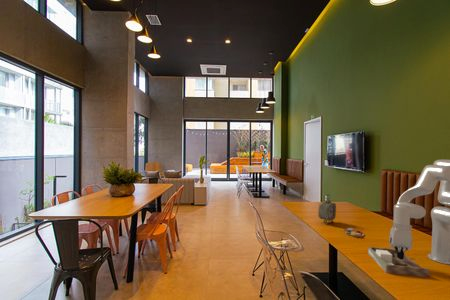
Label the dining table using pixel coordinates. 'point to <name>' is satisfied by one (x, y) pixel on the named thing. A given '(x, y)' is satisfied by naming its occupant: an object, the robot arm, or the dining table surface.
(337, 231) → the dining table surface
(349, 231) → the toy food set
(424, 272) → the box
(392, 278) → the dining table surface
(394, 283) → the dining table surface
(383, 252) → the cream block
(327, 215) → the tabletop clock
